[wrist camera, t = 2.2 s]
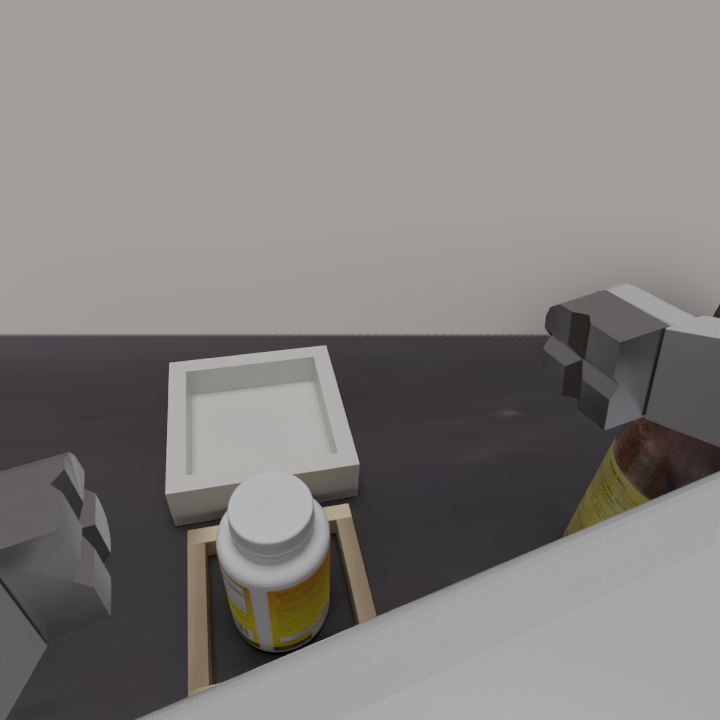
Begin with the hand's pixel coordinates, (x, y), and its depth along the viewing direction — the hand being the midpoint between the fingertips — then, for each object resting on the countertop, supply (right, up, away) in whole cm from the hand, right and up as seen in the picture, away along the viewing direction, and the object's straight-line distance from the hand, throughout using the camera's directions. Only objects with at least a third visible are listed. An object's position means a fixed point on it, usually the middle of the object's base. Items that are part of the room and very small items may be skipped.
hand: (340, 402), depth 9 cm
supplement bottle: (-4, -14, +23) cm, 27 cm away
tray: (-7, -5, +32) cm, 33 cm away
